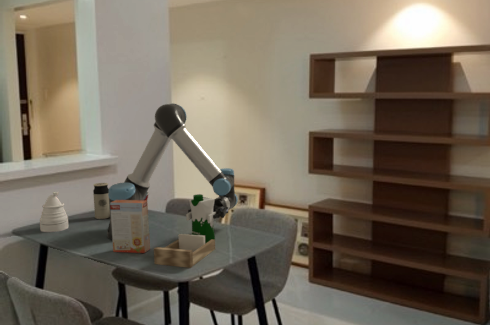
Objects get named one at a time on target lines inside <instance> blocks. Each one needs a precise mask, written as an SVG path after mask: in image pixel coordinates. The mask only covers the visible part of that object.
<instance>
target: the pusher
mask: <svg viewBox="0 0 490 325" xmlns="http://www.w3.org/2000/svg"><path fill="white" fill-rule="evenodd" d="M178 239H179V249H184V250H192V253H193V252H194V251H196V250H197V249H199V248H200V247H201V246H203V245H204V244H206V243H205V236H203V235H192V234H188V233H179V234H178Z"/></svg>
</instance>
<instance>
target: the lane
mask: <svg viewBox="0 0 490 325" xmlns="http://www.w3.org/2000/svg"><path fill="white" fill-rule="evenodd" d="M215 250H216V239H215V240H213V239H211V240H210V241H209V242H207V243H205V244H204V245H203V246H201V247H200V248H199V249H197V250H196V251H194V252H192V250H184V249H179V238H178V239H176V240H175V241H173V242H172V243H170V244H168V245H166V246H164V247H161V246H159V247H158V246H156V247H153V259H154V265H158V266H159V265H161V266H170V267H178V268H179V267H180V268H190V269H191V268H193V267H194V266H195V265H196V264H197V263H199V262H200V261H202V260H203V259H204V258H205V257H207V256H208V255H210V254H211V253H212V252H213V251H215Z"/></svg>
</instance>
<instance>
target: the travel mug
mask: <svg viewBox="0 0 490 325" xmlns="http://www.w3.org/2000/svg"><path fill="white" fill-rule="evenodd" d="M108 185H109V183H108V182H97V183H93V188H94V189H93V190H92V192H93V194H92V195H93V207H94V218H95V219H98V220H106V219H110V208H109V197H108V193H109V187H108Z"/></svg>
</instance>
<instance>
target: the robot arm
mask: <svg viewBox="0 0 490 325" xmlns="http://www.w3.org/2000/svg"><path fill="white" fill-rule="evenodd" d="M187 118H188V117H187V112H186V110H185V109H184V108H183V106H181V105H180V104H177V103H166V104H162V105H161V106H159V107H157V109H156V111H155V113H154V120H155V122H154V123H153V127H154V131H153V132H152V135H151V137H150V139H149V141H148V142H147V144H146V146H145V149H144V150H143V152H142V154H141V156H140V158H139V159H138V161H137V164H136V166H135V168H134V170H133V172H132V173H129V174H128V175H127V176H126V178H125V180H124V182H117V183H114V184H112V185H111V186H109V187H108V189H109V193H108V197H109V208H110V203H111V202H113V201H115V200H144V199H145V198H146V195H147V192H148V190H149V189H150V186H151V185H150V180H151V179H152V176H153V175H154V172H155V171H156V169H157V167H158V165H159V163H160V161H161V159H162V158H163V155H164V153H165V151H166V149H167V147H168V145H169V144H170V142H171V140H173V142H174V143H175V144H176V146H177V147H178V148H179V149H180V150H181V151H182V152H183V154H185V156H186V158H188V159H189V161H190V162H191V163H192V164H193V166H194V167H195V168H196V169H197V170H198V172H200V174H201V175H202V176H203V177H204V179H205V180H206V181H207V182H208V184H210V186H211V187H212V190H213V192H214V193H215V195H217V196H218V197H216V198H214V199H215V201H214V206H213V213H211V214H210V215H208V222H211V221H212V220H215V219H219V218H221V219H224V218H225V216H226V215H227V214H229V210H232V209H233V208H235V206H237V203H238V200H239V199H238V195H237V194H236V193H235V190H236V189H235V171H234V169H233V168H226V167H225V168H224V167H223V168H220V167H219V166H218V165H217V164H216V163H215V162H214V160H213V159H212V158H211V157H210V155H208V154H207V152H206V151H205V150H204V148H203V147H202V146H201V145H200V144H199V142H197V140H196V138H194V136H193V135H192V134H191V133H190V132H189V131H188V129H187V128H186V121H187ZM185 217H186V218H185V219H186V221H187V222H188V221H190V220H192V213H191V208H189V209H188V210H187V213H186V214H185ZM106 237H107V238H108V239H110V240H113V239H112V224H111V208H110V217H109V224H108V226H107V231H106Z"/></svg>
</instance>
